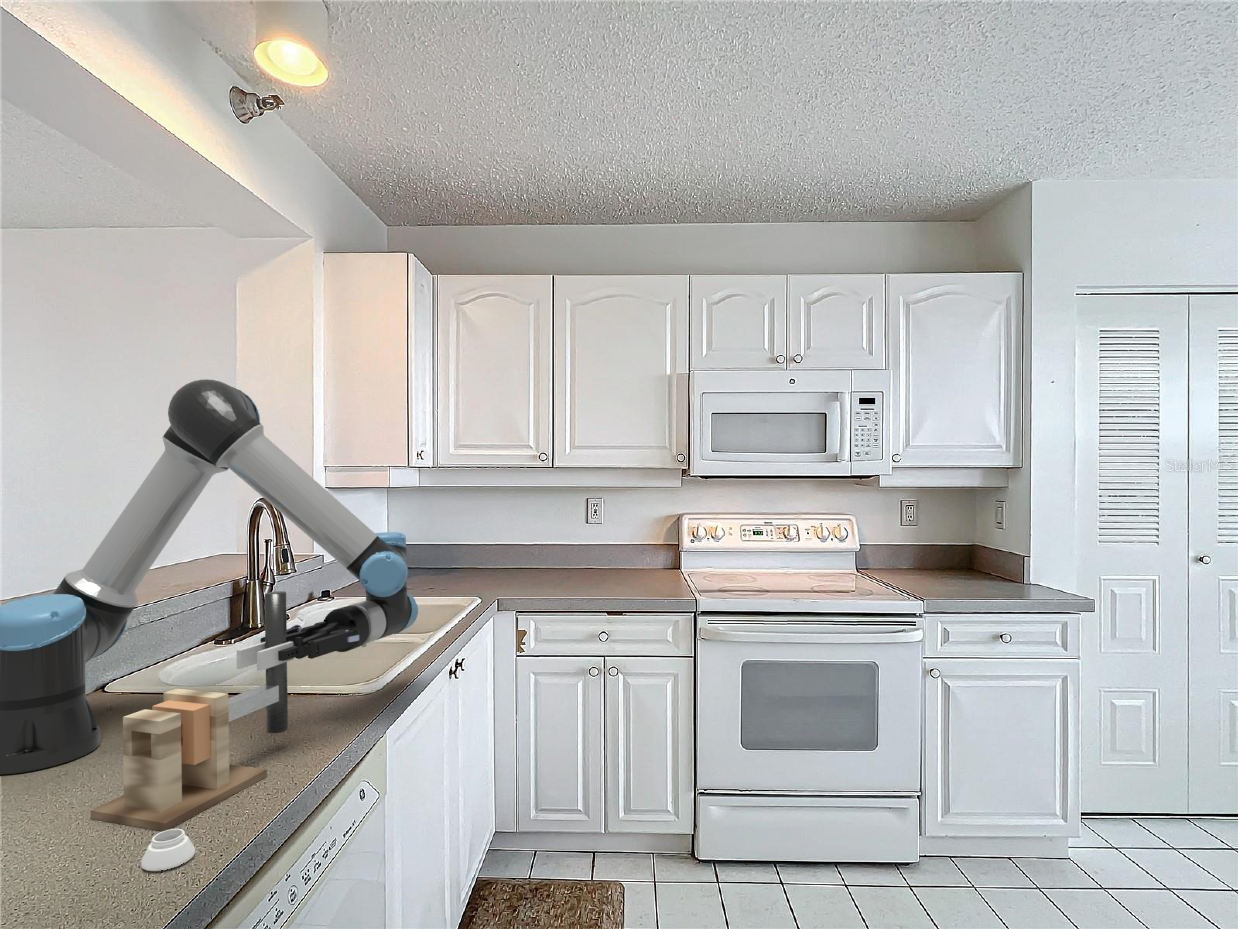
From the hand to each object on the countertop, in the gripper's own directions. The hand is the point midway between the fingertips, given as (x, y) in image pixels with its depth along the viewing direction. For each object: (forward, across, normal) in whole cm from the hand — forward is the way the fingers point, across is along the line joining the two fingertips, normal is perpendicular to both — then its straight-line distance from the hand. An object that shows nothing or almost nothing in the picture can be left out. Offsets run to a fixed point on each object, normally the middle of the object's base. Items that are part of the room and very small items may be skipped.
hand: (249, 660), depth 107 cm
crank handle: (+2, 0, -12) cm, 12 cm away
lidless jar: (+24, -12, -15) cm, 31 cm away
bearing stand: (+10, 0, -15) cm, 18 cm away
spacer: (+12, 0, -10) cm, 15 cm away
